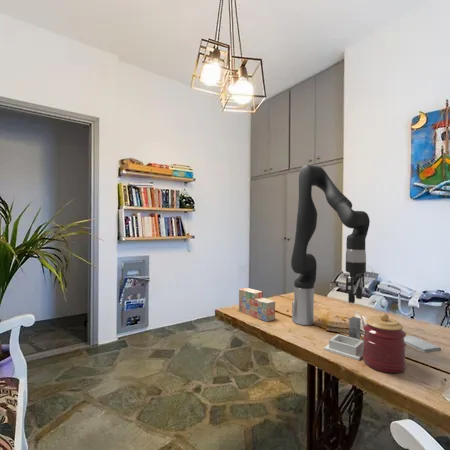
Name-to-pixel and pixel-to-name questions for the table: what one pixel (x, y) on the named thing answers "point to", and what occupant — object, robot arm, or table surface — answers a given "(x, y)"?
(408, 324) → the table surface
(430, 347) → the hard drive
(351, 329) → the block
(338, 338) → the dock
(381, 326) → the canister
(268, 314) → the stack of blocks
